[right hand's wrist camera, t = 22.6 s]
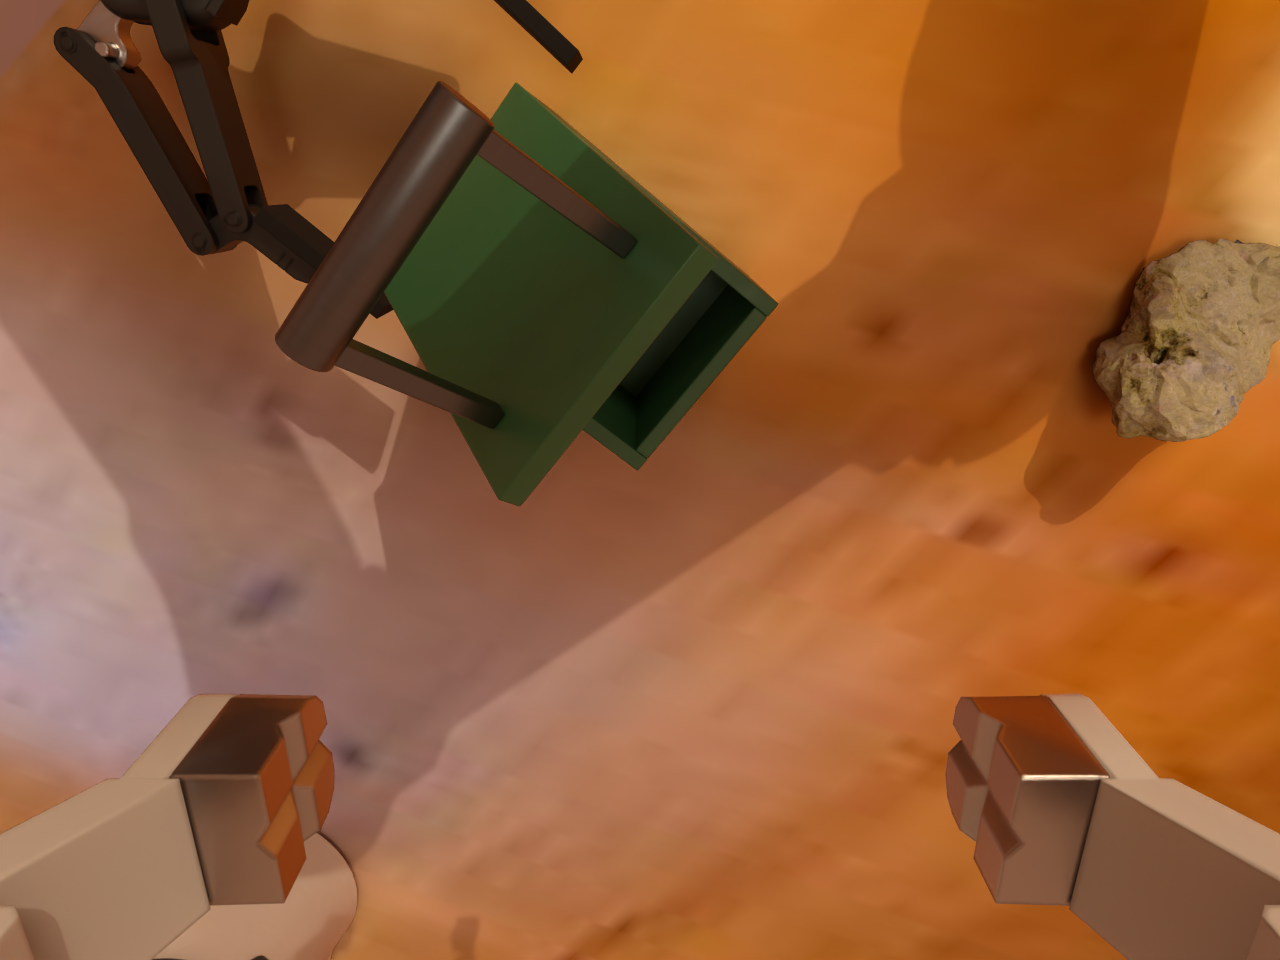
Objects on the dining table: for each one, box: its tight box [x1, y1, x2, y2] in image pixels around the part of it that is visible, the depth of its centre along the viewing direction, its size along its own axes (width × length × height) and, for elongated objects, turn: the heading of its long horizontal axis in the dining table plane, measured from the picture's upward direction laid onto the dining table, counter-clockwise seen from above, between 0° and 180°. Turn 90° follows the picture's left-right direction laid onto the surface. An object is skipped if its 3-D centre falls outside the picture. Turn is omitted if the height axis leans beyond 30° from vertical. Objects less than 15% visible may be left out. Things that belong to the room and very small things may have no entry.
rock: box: [1092, 239, 1280, 442], centre depth 43 cm, size 11×6×10 cm
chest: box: [528, 92, 778, 470], centre depth 40 cm, size 13×10×10 cm
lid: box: [275, 81, 718, 506], centre depth 26 cm, size 14×10×8 cm
